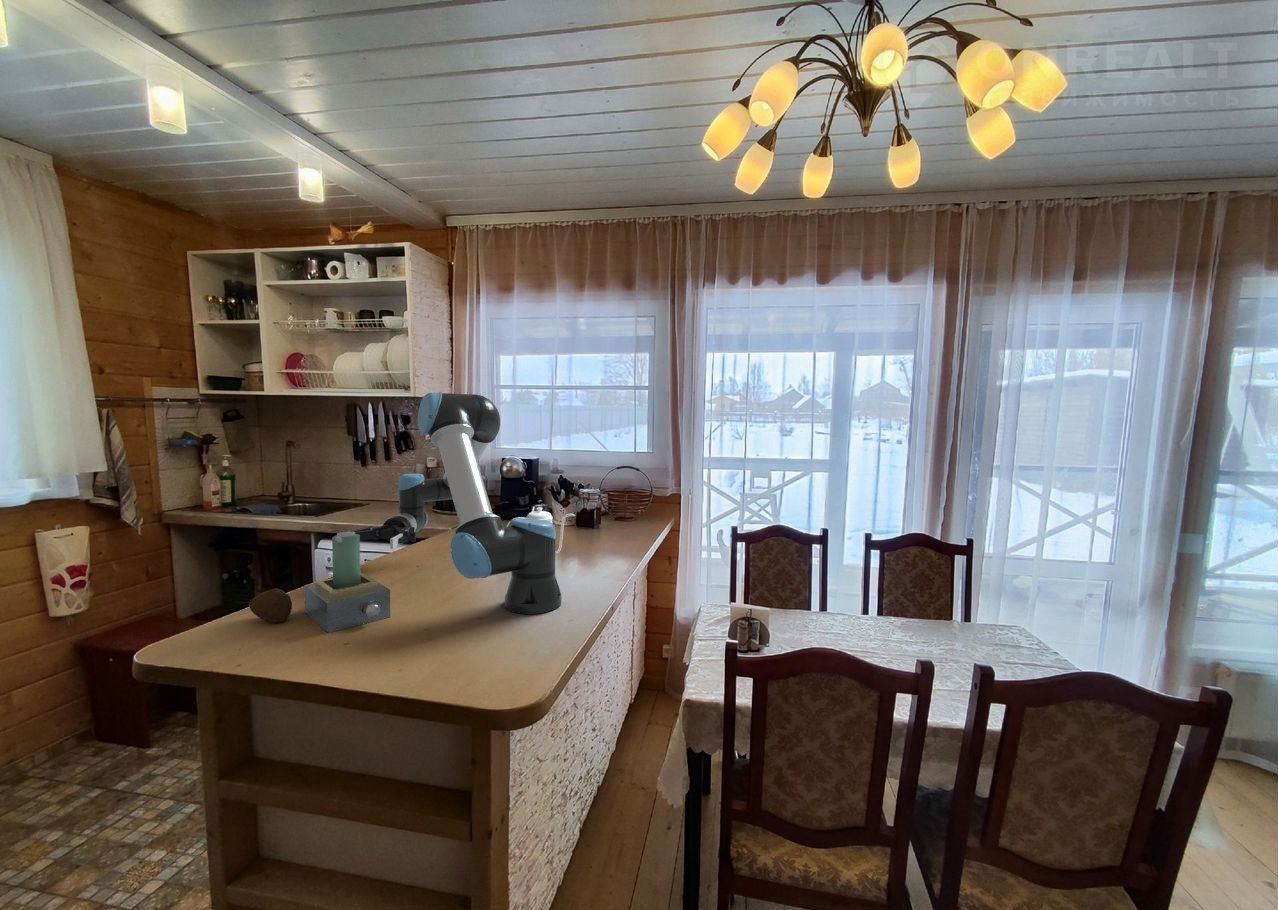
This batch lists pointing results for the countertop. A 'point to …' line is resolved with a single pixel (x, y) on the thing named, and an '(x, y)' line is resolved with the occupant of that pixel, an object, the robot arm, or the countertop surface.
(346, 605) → the box
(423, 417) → the robot arm
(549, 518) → the coffeepot
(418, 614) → the countertop surface
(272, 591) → the potato
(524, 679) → the countertop surface
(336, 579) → the can
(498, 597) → the countertop surface
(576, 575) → the countertop surface
